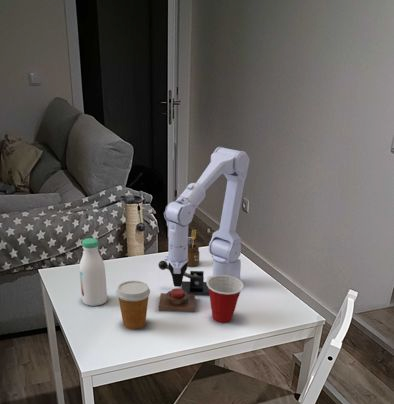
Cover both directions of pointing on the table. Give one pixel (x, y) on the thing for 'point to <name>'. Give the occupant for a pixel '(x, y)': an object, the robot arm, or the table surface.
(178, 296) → the button
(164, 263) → the lever
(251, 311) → the table surface
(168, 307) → the button block
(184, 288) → the bracket
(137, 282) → the disposable coffee cup
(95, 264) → the milk bottle
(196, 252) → the utensil holder
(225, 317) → the plastic cup
